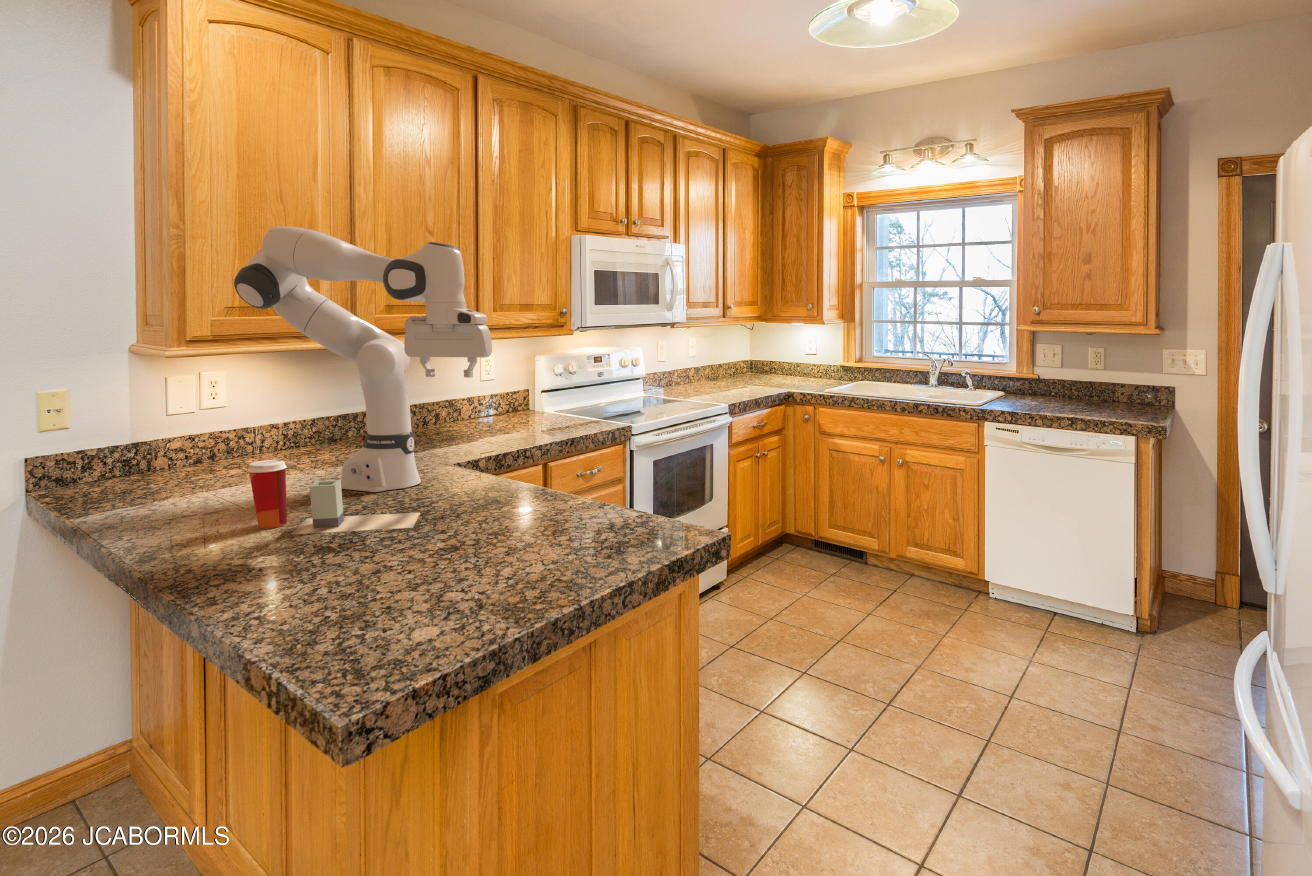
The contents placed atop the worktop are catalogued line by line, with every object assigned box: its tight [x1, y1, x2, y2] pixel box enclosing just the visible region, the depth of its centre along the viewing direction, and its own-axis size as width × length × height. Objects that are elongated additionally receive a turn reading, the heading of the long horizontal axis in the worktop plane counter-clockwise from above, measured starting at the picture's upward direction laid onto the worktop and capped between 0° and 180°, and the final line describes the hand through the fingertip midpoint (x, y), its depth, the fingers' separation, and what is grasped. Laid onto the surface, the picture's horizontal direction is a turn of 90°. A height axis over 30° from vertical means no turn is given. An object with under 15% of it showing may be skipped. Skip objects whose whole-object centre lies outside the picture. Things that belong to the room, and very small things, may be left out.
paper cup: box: [247, 459, 288, 530], centre depth 166 cm, size 8×8×14 cm
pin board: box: [290, 512, 421, 535], centre depth 162 cm, size 24×12×6 cm, turn 100°
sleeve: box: [309, 479, 345, 528], centre depth 161 cm, size 5×5×9 cm
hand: (449, 377), depth 174 cm, fingers open, 8 cm apart
